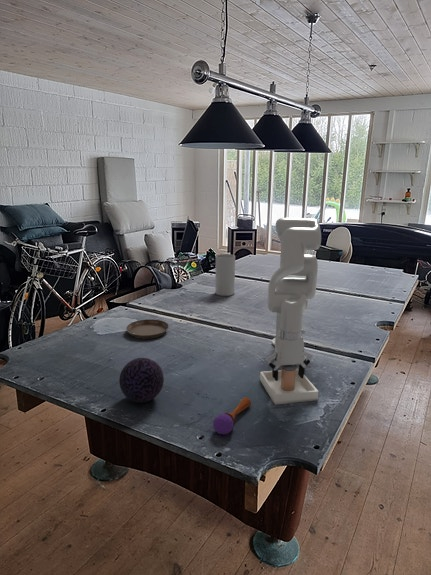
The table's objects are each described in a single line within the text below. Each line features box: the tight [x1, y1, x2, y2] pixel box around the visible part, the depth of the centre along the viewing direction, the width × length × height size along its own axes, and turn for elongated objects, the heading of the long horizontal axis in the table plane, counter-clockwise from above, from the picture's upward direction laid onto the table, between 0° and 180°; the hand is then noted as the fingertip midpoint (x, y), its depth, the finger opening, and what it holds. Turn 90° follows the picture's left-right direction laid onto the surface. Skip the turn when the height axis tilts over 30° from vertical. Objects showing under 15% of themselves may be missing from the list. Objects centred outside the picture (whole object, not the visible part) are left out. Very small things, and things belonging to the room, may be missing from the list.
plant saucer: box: [125, 318, 170, 340], centre depth 204 cm, size 21×21×3 cm
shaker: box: [280, 364, 297, 391], centre depth 149 cm, size 5×5×9 cm
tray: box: [259, 367, 319, 406], centre depth 150 cm, size 18×16×4 cm
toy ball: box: [118, 357, 165, 403], centre depth 142 cm, size 15×15×15 cm
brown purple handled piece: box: [213, 396, 252, 436], centre depth 131 cm, size 6×6×20 cm
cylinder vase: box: [214, 253, 236, 297], centre depth 267 cm, size 12×12×25 cm
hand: (288, 377), depth 149 cm, fingers open, 9 cm apart
